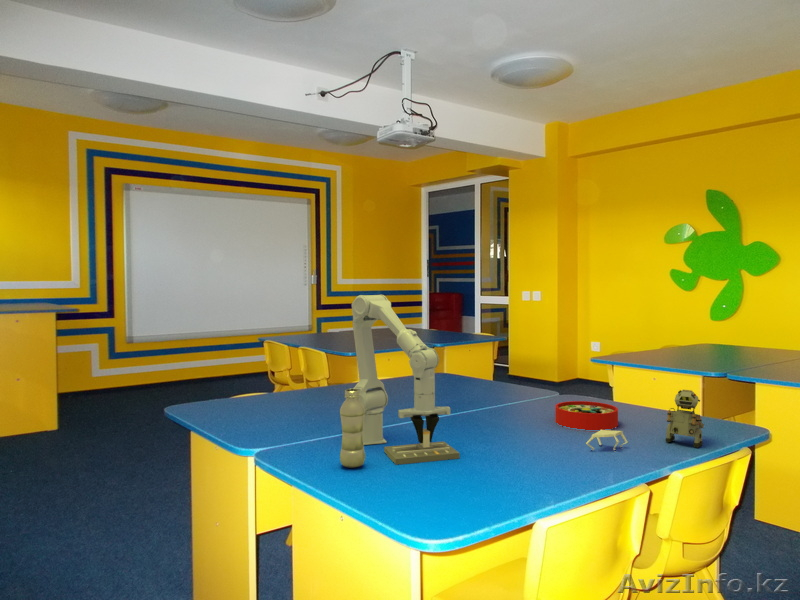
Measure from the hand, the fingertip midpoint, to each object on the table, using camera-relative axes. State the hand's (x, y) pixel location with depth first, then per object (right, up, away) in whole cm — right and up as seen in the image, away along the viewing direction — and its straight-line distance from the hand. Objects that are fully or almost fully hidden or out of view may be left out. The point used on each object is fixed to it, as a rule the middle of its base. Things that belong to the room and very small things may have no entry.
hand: (424, 441), depth 159 cm
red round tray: (+56, -3, +34) cm, 65 cm away
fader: (0, -2, 0) cm, 2 cm away
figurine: (+77, -3, +10) cm, 78 cm away
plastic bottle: (-19, -4, -10) cm, 22 cm away
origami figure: (+51, -3, +4) cm, 51 cm away
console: (-1, -4, 0) cm, 4 cm away
